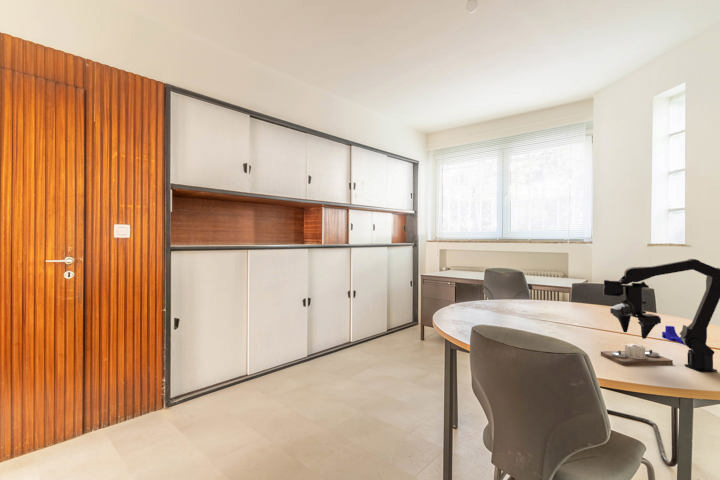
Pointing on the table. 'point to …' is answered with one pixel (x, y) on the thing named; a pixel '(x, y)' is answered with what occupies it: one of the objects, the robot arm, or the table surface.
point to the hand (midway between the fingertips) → (634, 335)
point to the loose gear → (635, 350)
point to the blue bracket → (671, 334)
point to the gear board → (636, 359)
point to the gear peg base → (623, 355)
